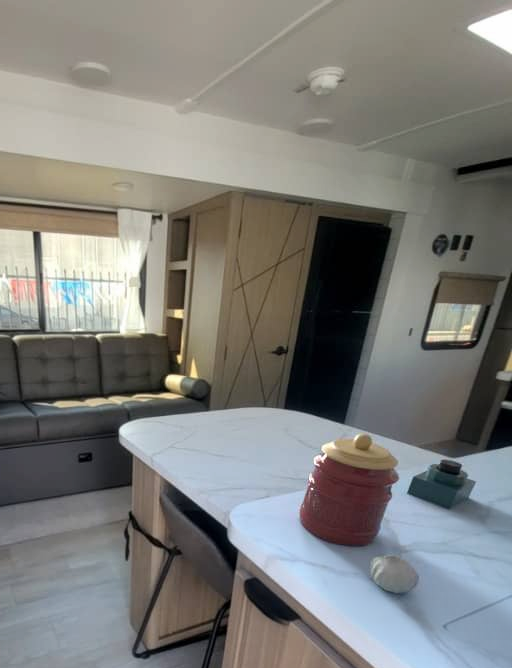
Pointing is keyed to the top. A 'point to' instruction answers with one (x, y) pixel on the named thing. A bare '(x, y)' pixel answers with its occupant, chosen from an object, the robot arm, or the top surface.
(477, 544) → the top surface
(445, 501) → the green push button box
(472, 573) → the top surface
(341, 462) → the kitchen canister
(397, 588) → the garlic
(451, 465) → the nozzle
